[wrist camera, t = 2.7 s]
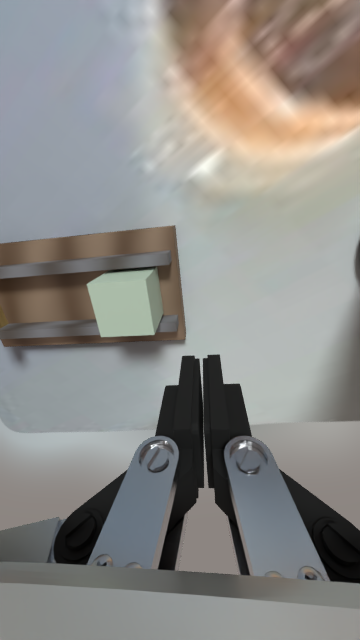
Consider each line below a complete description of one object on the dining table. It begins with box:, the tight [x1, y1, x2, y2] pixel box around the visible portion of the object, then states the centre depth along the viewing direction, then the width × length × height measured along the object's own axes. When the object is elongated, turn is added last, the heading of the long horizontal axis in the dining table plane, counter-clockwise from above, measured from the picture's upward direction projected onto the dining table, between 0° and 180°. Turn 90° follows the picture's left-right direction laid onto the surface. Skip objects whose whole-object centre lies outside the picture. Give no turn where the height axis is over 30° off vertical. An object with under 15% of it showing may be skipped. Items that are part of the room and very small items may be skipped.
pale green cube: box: [87, 266, 164, 337], centre depth 22 cm, size 5×5×5 cm
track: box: [0, 226, 186, 347], centre depth 25 cm, size 23×12×6 cm, turn 96°
